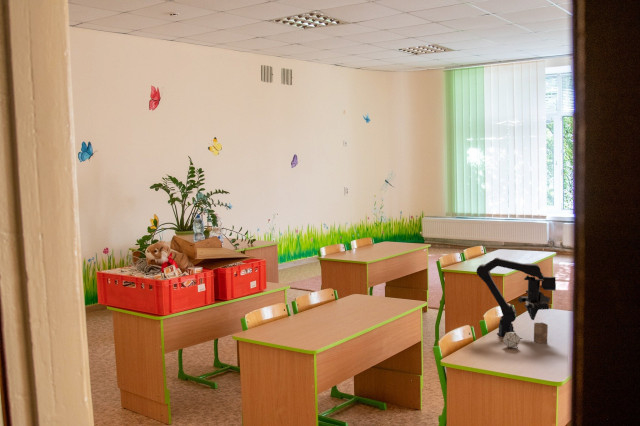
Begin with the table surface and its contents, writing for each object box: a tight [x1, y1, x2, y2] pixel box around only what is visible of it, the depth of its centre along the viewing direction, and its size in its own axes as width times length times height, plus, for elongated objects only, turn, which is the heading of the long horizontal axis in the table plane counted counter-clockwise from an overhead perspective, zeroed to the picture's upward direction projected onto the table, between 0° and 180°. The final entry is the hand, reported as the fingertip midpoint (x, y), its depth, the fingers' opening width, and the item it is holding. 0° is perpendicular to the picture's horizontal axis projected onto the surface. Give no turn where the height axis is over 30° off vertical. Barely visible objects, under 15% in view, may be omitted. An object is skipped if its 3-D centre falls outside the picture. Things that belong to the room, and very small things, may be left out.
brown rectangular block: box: [533, 322, 549, 344], centre depth 290 cm, size 4×4×9 cm
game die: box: [500, 330, 523, 350], centre depth 279 cm, size 9×8×10 cm
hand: (532, 319), depth 296 cm, fingers closed
